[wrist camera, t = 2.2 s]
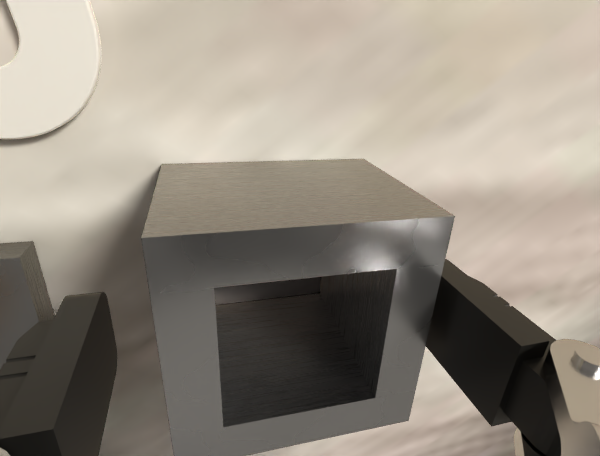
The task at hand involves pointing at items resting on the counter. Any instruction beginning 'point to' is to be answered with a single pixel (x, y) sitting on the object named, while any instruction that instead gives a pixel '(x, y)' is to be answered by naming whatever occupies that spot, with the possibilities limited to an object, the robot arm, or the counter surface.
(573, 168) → the counter surface
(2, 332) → the keeper post
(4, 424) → the robot arm
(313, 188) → the square socket tube
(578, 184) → the counter surface
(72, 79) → the chain link
